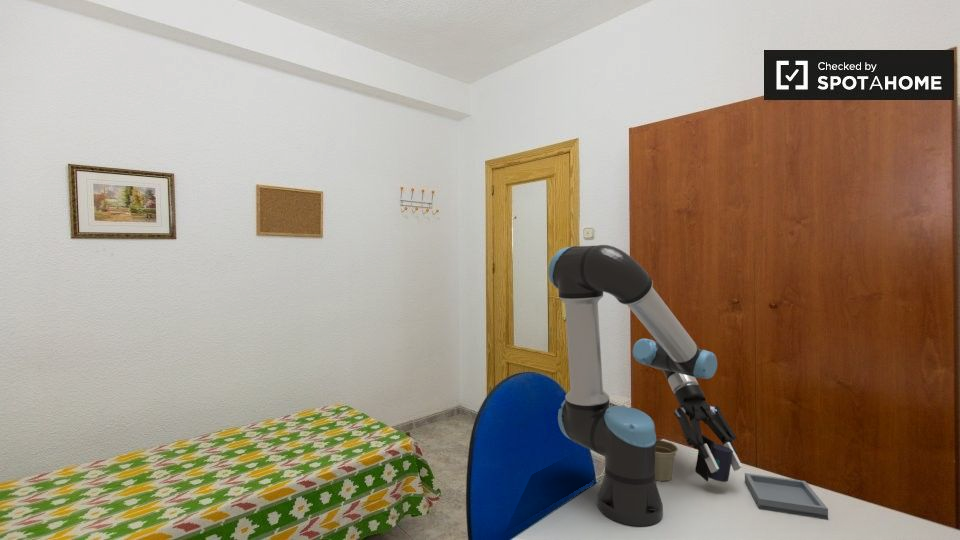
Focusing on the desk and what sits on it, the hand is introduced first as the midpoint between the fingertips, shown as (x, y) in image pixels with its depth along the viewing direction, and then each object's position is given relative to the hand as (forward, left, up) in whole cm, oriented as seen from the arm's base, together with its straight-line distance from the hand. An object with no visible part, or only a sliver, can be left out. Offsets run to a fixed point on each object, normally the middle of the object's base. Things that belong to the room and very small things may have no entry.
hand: (726, 469), depth 114 cm
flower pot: (-16, +5, -7) cm, 18 cm away
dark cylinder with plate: (-2, +3, -4) cm, 5 cm away
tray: (+13, +2, -6) cm, 15 cm away
